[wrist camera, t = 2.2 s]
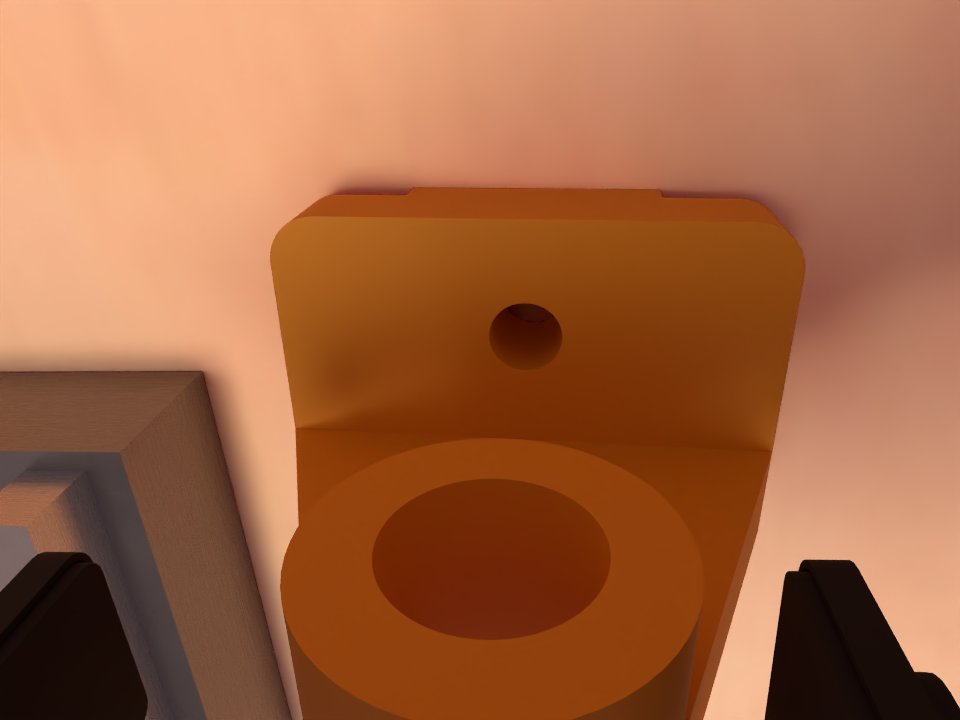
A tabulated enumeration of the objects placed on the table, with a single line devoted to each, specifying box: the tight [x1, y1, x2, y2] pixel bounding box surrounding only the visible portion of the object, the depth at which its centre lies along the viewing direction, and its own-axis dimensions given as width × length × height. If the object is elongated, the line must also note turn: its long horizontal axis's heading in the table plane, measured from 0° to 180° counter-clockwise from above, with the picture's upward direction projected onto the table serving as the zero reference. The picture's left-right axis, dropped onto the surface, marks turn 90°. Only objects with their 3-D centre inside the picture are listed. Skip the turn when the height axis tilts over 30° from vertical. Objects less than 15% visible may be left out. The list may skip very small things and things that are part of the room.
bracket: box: [270, 187, 805, 720], centre depth 13 cm, size 11×7×12 cm, turn 91°
